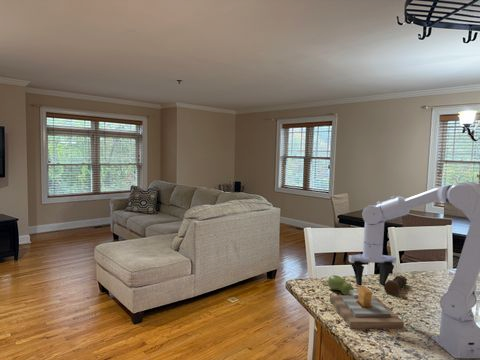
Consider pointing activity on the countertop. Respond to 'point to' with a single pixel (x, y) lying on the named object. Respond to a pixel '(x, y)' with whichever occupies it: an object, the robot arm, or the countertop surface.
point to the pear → (339, 284)
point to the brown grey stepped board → (365, 312)
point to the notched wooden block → (364, 297)
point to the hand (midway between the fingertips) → (370, 284)
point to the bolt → (395, 285)
